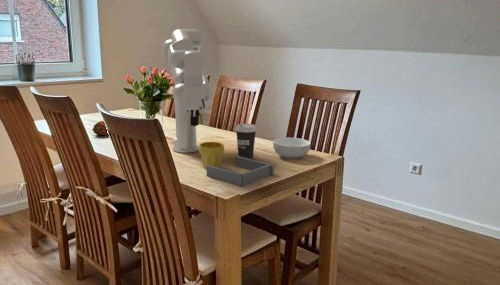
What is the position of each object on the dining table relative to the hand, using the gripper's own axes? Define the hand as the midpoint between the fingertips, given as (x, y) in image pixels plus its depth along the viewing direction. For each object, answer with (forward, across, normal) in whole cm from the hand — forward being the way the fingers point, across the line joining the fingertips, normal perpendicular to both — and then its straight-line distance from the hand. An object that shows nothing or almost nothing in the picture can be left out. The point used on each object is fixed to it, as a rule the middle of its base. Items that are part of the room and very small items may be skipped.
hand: (194, 125), depth 186 cm
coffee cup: (+17, +11, +20) cm, 29 cm away
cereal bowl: (+17, +25, +36) cm, 47 cm away
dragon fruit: (+16, -74, +2) cm, 75 cm away
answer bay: (+17, +24, 0) cm, 30 cm away
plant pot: (+17, +9, 0) cm, 19 cm away
